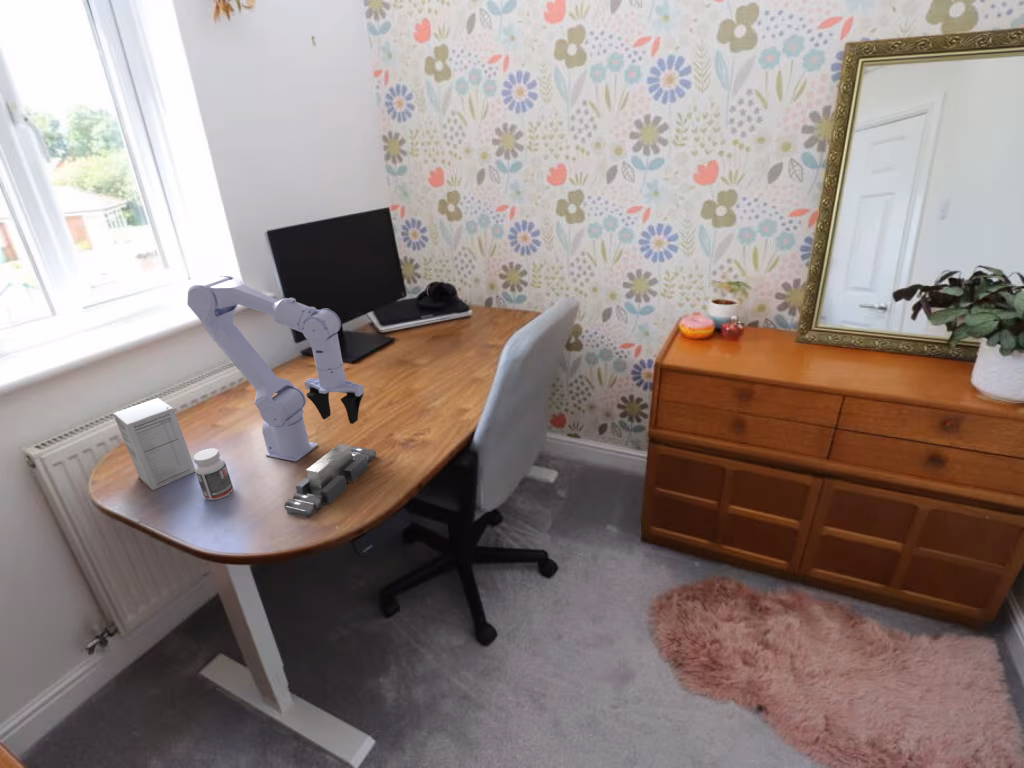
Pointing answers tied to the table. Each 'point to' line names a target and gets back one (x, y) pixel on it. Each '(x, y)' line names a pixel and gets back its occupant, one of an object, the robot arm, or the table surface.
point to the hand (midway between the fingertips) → (340, 419)
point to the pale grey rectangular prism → (329, 467)
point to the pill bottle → (212, 474)
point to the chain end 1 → (314, 496)
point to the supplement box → (155, 442)
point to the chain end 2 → (358, 463)
